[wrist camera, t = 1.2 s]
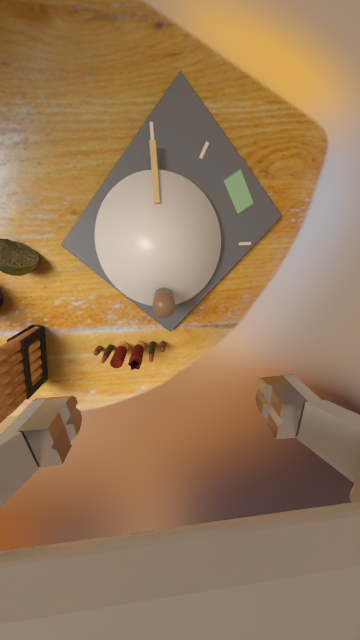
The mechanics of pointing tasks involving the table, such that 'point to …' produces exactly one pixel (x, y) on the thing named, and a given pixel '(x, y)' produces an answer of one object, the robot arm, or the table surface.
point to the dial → (157, 238)
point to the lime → (16, 258)
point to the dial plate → (201, 169)
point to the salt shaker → (1, 299)
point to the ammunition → (135, 355)
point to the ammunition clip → (22, 368)
